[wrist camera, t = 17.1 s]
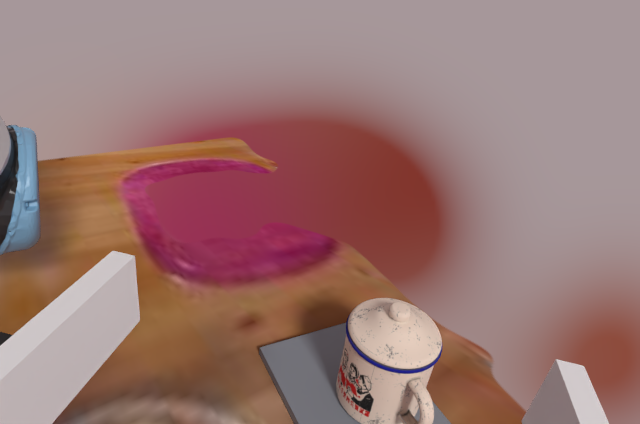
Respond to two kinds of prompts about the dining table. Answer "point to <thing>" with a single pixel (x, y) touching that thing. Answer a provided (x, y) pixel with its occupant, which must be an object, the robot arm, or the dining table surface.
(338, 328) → the serving board
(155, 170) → the dining table surface
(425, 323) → the teacup with lid
